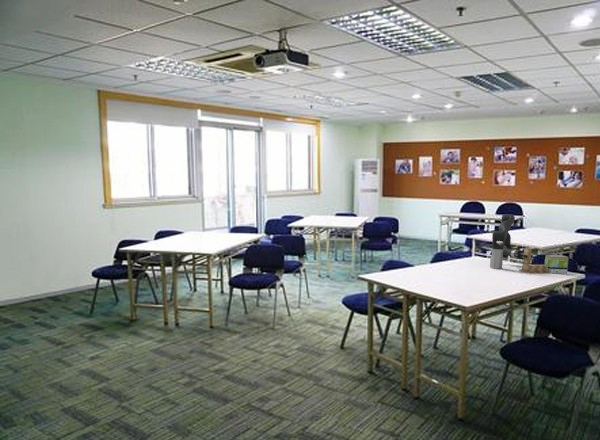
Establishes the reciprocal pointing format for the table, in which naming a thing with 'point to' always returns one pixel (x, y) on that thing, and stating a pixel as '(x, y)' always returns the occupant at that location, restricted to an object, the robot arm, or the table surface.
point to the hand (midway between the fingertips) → (529, 256)
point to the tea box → (556, 263)
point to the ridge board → (534, 268)
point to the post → (528, 252)
